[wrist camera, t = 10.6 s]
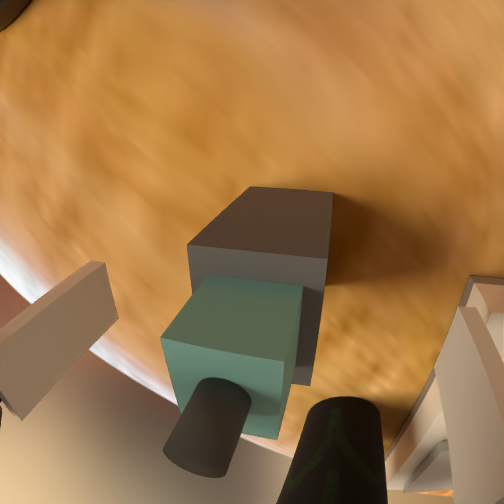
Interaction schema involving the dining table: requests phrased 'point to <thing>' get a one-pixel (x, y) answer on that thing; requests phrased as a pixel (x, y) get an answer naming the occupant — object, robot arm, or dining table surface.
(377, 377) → the dining table surface
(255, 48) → the dining table surface
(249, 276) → the plug
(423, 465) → the panel
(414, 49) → the dining table surface
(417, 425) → the socket board
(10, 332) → the robot arm
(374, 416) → the cup
